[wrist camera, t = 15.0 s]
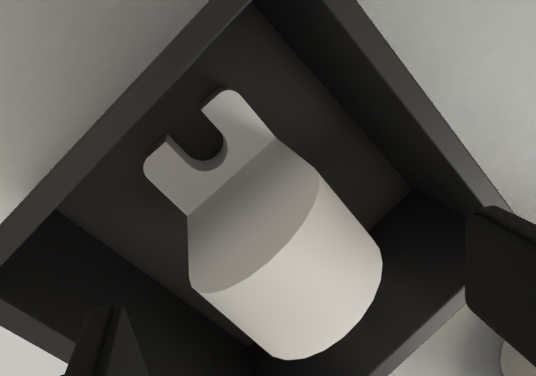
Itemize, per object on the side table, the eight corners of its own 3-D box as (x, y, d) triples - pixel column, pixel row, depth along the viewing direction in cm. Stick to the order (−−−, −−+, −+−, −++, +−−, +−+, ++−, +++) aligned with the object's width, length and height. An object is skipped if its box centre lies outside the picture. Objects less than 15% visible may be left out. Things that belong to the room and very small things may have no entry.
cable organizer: (225, 81, 18) (271, 100, 9) (345, 223, 22) (469, 345, 12) (141, 157, 18) (97, 254, 9) (273, 285, 22) (340, 450, 12)
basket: (33, 202, 19) (-63, 291, 11) (247, -26, 18) (292, -88, 10) (246, 353, 24) (275, 481, 17) (422, 184, 23) (535, 240, 16)
